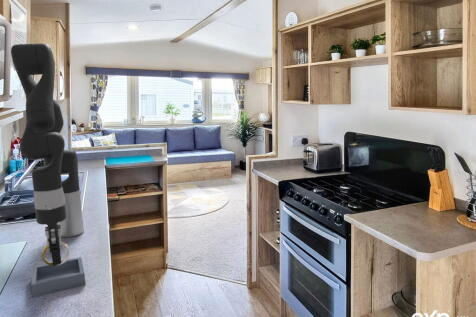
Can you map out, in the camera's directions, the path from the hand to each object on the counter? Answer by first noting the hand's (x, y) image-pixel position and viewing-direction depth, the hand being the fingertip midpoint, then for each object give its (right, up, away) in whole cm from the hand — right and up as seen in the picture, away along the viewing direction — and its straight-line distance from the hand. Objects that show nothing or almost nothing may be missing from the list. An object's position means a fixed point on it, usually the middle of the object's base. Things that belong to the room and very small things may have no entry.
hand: (57, 262), depth 102 cm
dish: (0, -6, +1) cm, 6 cm away
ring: (0, -1, 0) cm, 1 cm away
